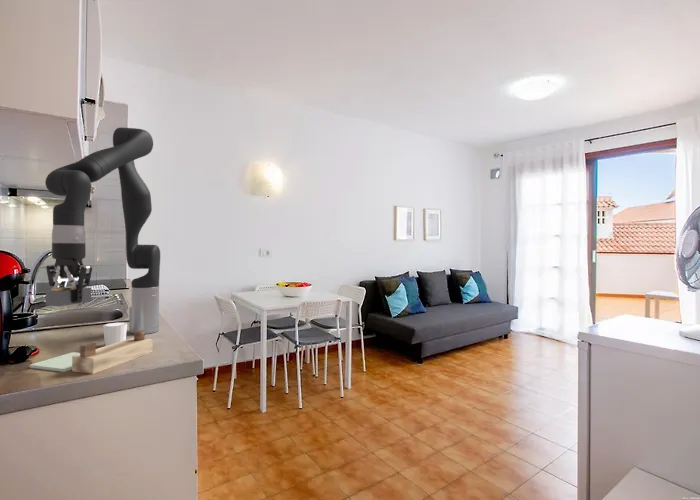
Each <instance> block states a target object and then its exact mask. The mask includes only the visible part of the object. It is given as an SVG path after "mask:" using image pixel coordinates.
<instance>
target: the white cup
mask: <svg viewBox="0 0 700 500" xmlns="http://www.w3.org/2000/svg"><path fill="white" fill-rule="evenodd" d="M102 328H103V329H102V330H103V338H104V339H103V340H104V347H105V346H108V345H111V344H114V343H118V342H121V341H124V340H127V330H128V322H123V321H122V322H110V323H106V324H103V325H102Z"/></svg>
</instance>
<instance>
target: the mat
mask: <svg viewBox="0 0 700 500" xmlns="http://www.w3.org/2000/svg"><path fill="white" fill-rule="evenodd" d="M78 354H80V352H77V351H76V352H74V351H71V352H68V353H66V354H63V355H62V354H61V355H58V356H55V357H52V358H49V359H46V360H42V361H39V362H38V361H37V362H35V363H32V364H29V369H37V370H45V371H53V372H63V373H65V372H68V371H71V370H72V356H75V355H78Z"/></svg>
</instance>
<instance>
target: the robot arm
mask: <svg viewBox="0 0 700 500" xmlns="http://www.w3.org/2000/svg"><path fill="white" fill-rule="evenodd" d="M112 134H113V135H112V144H113V145H112V147H107V148H104V149H100V150H96V151H94V152H92V153H90V154H88V155H86V156H84V157H83V158H81V159H80V160H79V161H75V162H73V163H70V164H67V165H64V166H61V167H58V168H55V169H54V170H52V171H51V172H49V173H48V175H47V176H46V178H45V187H46V190H48V191H49V192H50V193H51V194H53V195H56V196H60V197H64V196H65V198H64V201H63V202H62V203H58V204H56V205H54V207H53V208H52V209H53V210H52V231H51V258H52V259H54V260H55V262H54V264H51V265H50V264H49V265H46V266H45V268H46V275H47V279H48V280H47V281H48V284H49V287H53V288H60V287H67V284H68V283H71V284H70V285H71V287H72V288H73V289H74V290H72V298H73V303H78V304H80V303H79V302H81V301H82V290H83V288H84V287H88V288H89V286H90V284H91V283H90V282H91V277H92V271H93V266H92V265H84V262H83V259H85V258H86V248H87V247H86V231H85V211H86V207H87V205H88V201H89V198H90V196H91V192H92V183H95V182H98V181H99V180H101V179H102V178H104V177H106V176H107V175H108V174H110V173H111V172H113V171H115V170H116V169H118V177H119V182H120V183H119V184H120V191H121V193H120V194H121V196H120V197H121V203H122V211H123V218H124V227H125V230H124V231H125V256H126V257H125V258H126V264H127V265H128V268H130V269H133V270H144V269H145V270H148V271H147V272H146V273H145V274H144V275H142V276H139V277H136V278H134V279H132V280H131V283H130V284H131V306H130V307H129V309H128V311H129V312H128V314H129V315H128V316H129V318H128V319H129V320H128V323H129V324H128V325H129V326H128V328H129V329H128V330H129V333H132V334H133V335H134V332H135V331H145V335H147V334H152V333H156V332H159V331H160V268H161V250H160V247H159V246H158V245H157V244H139V235H140V233H141V230H142V228H143V226H144V225H145V224H146V223H147V221H148V219H149V217H150V216H151V214H152V209H153V207H152V197H151V191H150V189H149V187H148V186H147V184H146V183H145V181H144V180H143V179H142V177H141V176H140V174H139V173H138V170H137V168H136V165H135V160H137V159H140V158H143V157H146V156H148V155H149V154H151V152H152V150H153V149H154V140H153V136H152V135H151V134H150V132H149V131H147V130H146V129H141V128H136V127H134V128H133V127H117V128H116V129H115V130H114V131H113V133H112ZM54 280H55V281H54Z"/></svg>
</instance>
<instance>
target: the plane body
mask: <svg viewBox="0 0 700 500" xmlns="http://www.w3.org/2000/svg"><path fill="white" fill-rule="evenodd" d="M145 335H146V334H145V331H135V332H134V334H133V337H132V338H128V339H126V340H124V341H121V342H118V343H114V344H111V345H108V346H105V345H104V346H102V347H99V348H96V345H97V344H96V342H88V343H85V344H81V345H80V346H79V349H80V350H79V353H80V354H78V355H75V356H72V369H71V370H72V371H71V372H76V373H83V374H90V375H91V374H92V375H94V374H96V373H97V374H98V373H99V372H102V371H105V370H107V369H110V368H114V367H117V366H119V365H121V364H124V363H127V362H130V361H132V360H135V359H137V358H140V357H143V356H146V355H149V354H150V353H153V349H154V347H153V346H154V345H153V343H154V342H153V339H152V338H145Z"/></svg>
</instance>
